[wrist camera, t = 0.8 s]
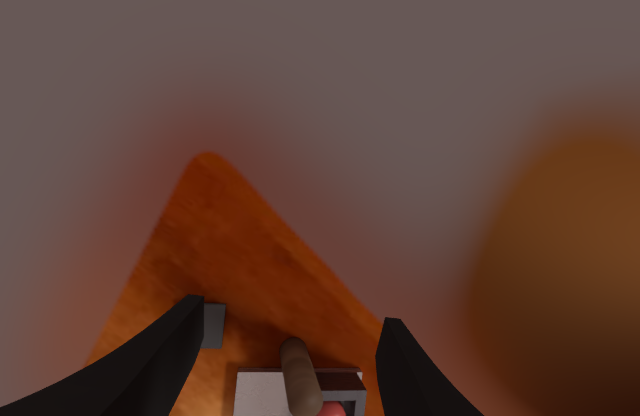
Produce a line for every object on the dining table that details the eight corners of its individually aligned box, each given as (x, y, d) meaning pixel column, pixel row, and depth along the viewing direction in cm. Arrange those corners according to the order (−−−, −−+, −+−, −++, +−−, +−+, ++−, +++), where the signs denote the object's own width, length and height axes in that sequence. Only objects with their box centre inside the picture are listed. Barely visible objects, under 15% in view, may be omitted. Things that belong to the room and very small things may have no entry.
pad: (221, 346, 30) (221, 348, 30) (175, 345, 30) (174, 347, 29) (225, 303, 30) (225, 305, 30) (180, 302, 30) (179, 303, 29)
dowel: (304, 363, 32) (321, 419, 24) (278, 363, 32) (286, 420, 24) (307, 337, 32) (325, 384, 24) (280, 337, 32) (290, 385, 24)
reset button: (339, 423, 31) (344, 434, 30) (310, 424, 31) (313, 435, 29) (343, 394, 31) (347, 404, 30) (314, 394, 30) (317, 404, 29)
